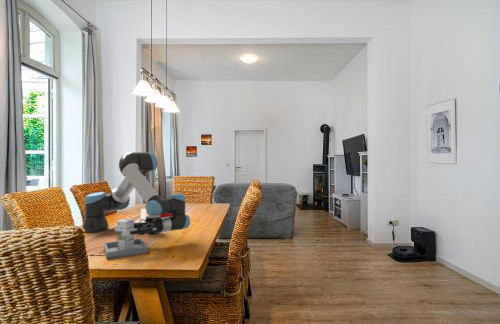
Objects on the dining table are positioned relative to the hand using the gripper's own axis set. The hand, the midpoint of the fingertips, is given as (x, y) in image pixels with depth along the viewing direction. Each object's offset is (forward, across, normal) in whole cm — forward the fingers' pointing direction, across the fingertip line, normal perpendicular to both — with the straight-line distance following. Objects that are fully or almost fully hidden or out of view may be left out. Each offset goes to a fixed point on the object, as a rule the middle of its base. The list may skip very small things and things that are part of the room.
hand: (118, 230), depth 146 cm
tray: (-3, 0, -10) cm, 11 cm away
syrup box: (-3, 0, -10) cm, 10 cm away
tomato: (-39, +42, -10) cm, 58 cm away
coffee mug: (-26, +28, -10) cm, 40 cm away
